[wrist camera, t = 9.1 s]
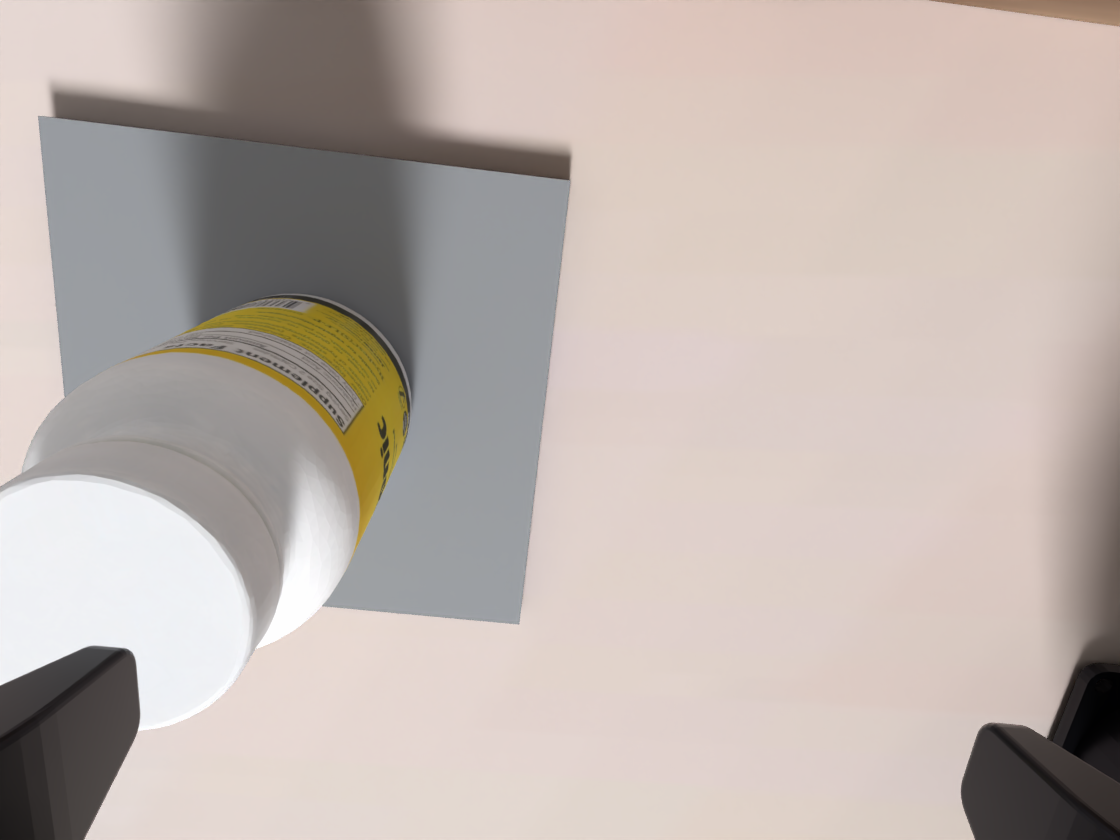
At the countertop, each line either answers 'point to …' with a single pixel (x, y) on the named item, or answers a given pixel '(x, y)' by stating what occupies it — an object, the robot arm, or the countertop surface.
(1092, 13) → the screen
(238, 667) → the supplement bottle
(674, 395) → the countertop surface
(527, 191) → the mat
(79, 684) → the robot arm
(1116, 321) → the countertop surface
